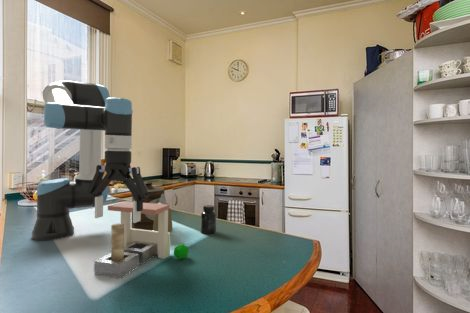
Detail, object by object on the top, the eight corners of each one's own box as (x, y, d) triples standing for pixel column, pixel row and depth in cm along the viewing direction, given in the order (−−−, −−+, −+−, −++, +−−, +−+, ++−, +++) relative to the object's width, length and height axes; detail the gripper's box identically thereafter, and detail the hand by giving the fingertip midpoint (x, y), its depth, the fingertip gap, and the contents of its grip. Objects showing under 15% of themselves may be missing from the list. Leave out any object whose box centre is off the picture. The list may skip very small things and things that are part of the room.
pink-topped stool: (107, 259, 98) (107, 205, 97) (126, 249, 107) (126, 200, 107) (154, 265, 93) (155, 210, 92) (170, 255, 102) (170, 204, 102)
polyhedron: (182, 254, 103) (182, 241, 103) (191, 258, 100) (191, 244, 100) (170, 258, 99) (170, 244, 99) (180, 262, 96) (180, 248, 96)
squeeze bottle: (167, 240, 118) (168, 196, 117) (149, 238, 120) (149, 195, 119) (175, 234, 126) (176, 193, 125) (158, 233, 128) (158, 192, 127)
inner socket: (118, 260, 96) (118, 248, 96) (135, 251, 105) (135, 240, 105) (142, 264, 94) (142, 251, 94) (157, 254, 103) (157, 243, 103)
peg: (108, 272, 88) (108, 226, 87) (116, 267, 91) (116, 223, 91) (118, 273, 87) (118, 227, 86) (126, 268, 90) (126, 224, 90)
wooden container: (151, 233, 128) (152, 183, 127) (124, 229, 133) (124, 181, 132) (170, 225, 142) (170, 180, 141) (145, 221, 147) (145, 178, 146)
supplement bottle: (198, 231, 132) (199, 205, 131) (213, 229, 134) (213, 204, 134) (203, 235, 125) (203, 208, 125) (218, 234, 128) (218, 207, 128)
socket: (94, 274, 86) (94, 261, 86) (114, 262, 95) (114, 250, 94) (120, 278, 83) (120, 265, 83) (138, 266, 92) (139, 254, 92)
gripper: (74, 148, 88) (74, 218, 89) (147, 151, 81) (146, 227, 82) (93, 148, 95) (92, 212, 96) (161, 151, 88) (160, 220, 89)
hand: (117, 219), depth 89 cm, fingers open, 13 cm apart
